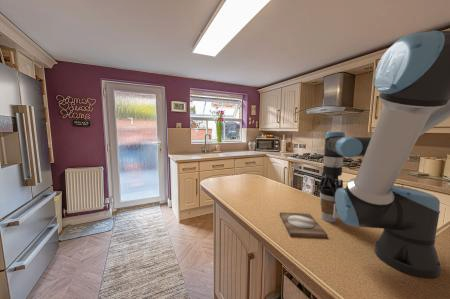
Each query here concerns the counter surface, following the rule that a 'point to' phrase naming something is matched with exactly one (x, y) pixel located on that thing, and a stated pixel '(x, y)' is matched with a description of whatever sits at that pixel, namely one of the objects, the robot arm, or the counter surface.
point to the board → (302, 225)
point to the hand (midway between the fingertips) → (329, 211)
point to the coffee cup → (327, 204)
